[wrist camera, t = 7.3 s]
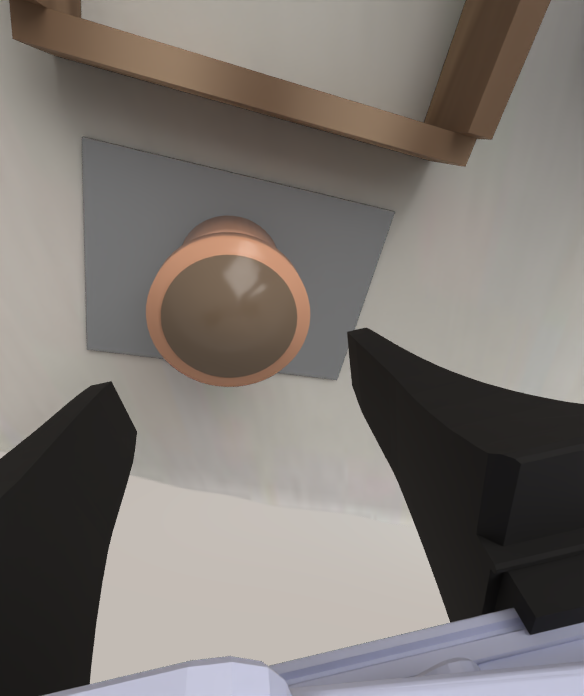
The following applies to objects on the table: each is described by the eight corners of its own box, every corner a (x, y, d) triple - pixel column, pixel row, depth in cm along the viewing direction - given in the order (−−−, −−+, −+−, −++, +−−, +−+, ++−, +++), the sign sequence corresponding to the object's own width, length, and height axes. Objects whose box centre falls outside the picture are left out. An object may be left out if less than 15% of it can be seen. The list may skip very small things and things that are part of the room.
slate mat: (393, 211, 19) (394, 212, 19) (336, 378, 23) (337, 379, 23) (83, 136, 16) (82, 137, 15) (88, 347, 20) (86, 349, 20)
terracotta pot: (279, 196, 17) (300, 225, 12) (295, 310, 20) (318, 372, 15) (153, 218, 17) (119, 257, 12) (188, 329, 20) (173, 400, 15)
